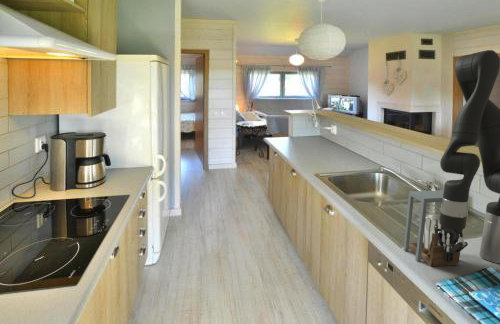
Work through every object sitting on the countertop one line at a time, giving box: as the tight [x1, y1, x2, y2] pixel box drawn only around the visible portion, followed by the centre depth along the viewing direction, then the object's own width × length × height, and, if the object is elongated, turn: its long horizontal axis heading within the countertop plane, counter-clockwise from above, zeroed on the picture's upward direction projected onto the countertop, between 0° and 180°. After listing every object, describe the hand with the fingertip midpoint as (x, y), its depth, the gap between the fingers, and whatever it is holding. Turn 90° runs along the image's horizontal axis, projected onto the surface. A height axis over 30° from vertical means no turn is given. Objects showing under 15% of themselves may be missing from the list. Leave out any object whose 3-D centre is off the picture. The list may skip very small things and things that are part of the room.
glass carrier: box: [408, 241, 461, 267], centre depth 123 cm, size 15×10×7 cm
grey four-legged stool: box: [403, 189, 444, 262], centre depth 123 cm, size 9×15×24 cm, turn 96°
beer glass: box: [422, 213, 441, 254], centre depth 123 cm, size 7×7×15 cm
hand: (447, 261), depth 113 cm, fingers closed
